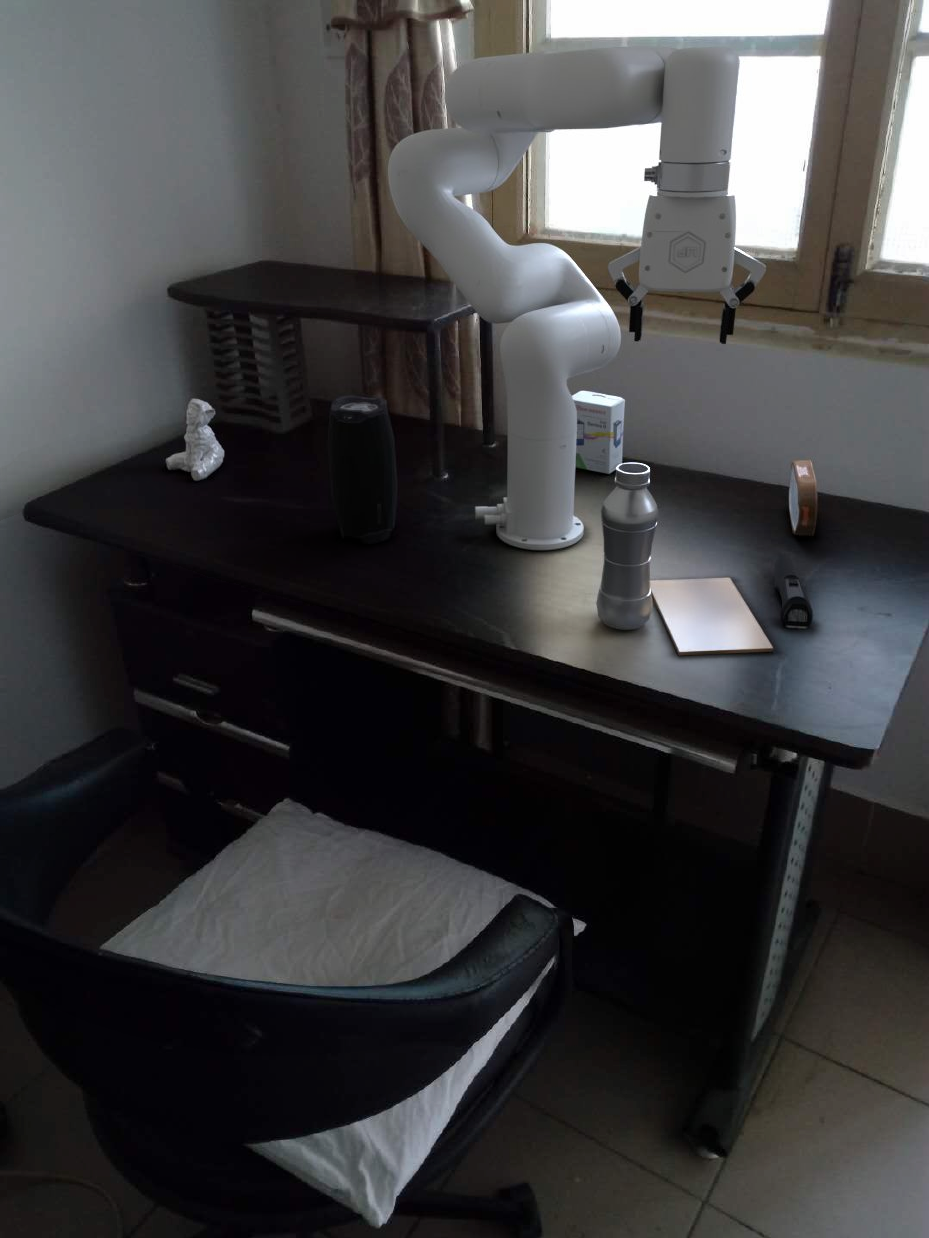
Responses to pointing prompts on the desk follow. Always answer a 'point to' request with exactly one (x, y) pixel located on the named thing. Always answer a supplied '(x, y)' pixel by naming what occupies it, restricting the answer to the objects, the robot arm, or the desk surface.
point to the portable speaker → (362, 468)
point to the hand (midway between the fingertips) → (680, 340)
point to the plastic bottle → (627, 549)
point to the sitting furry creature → (198, 443)
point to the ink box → (599, 431)
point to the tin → (803, 498)
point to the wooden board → (707, 617)
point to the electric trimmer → (792, 594)
